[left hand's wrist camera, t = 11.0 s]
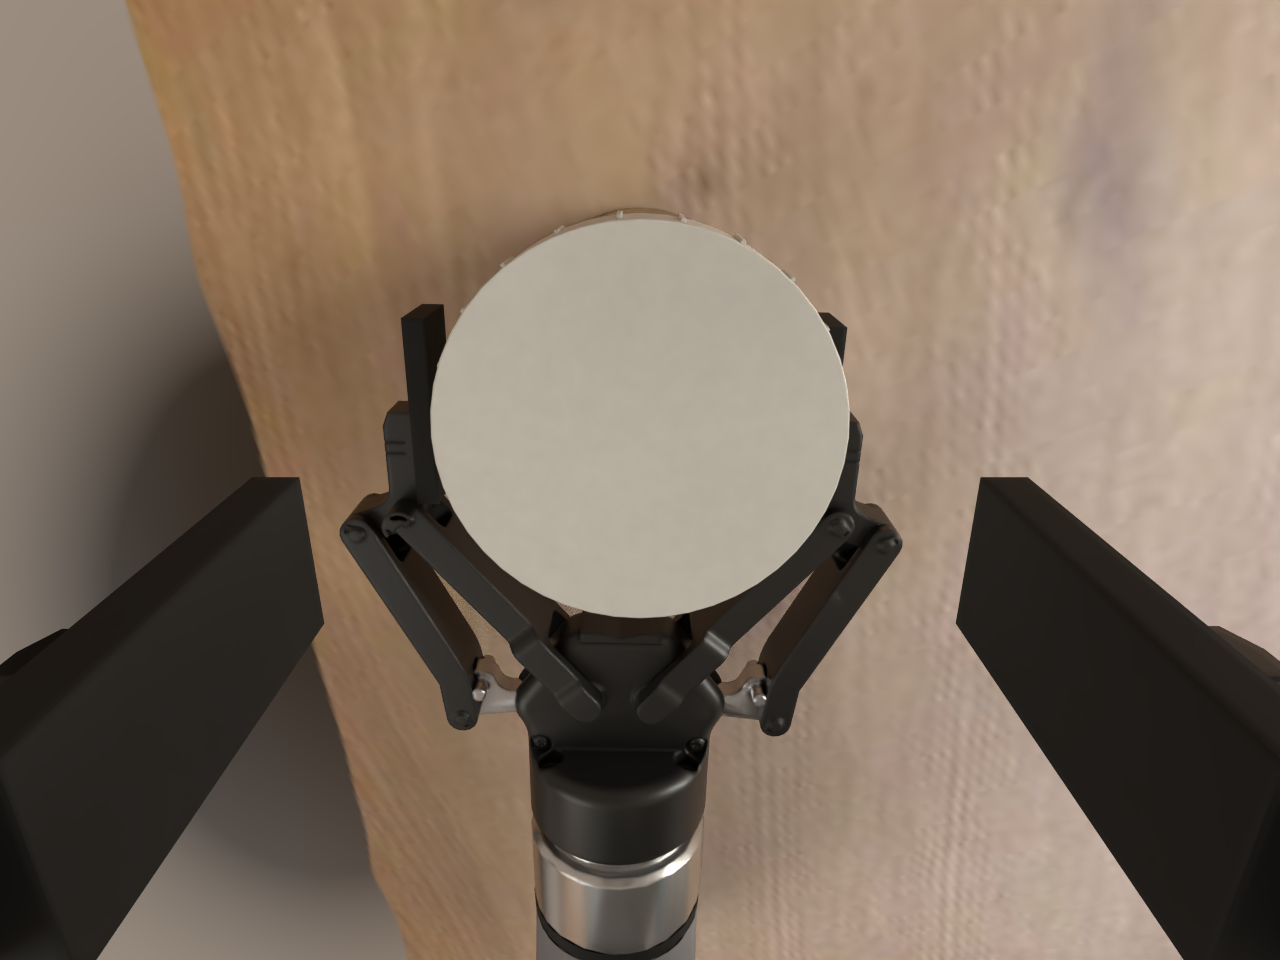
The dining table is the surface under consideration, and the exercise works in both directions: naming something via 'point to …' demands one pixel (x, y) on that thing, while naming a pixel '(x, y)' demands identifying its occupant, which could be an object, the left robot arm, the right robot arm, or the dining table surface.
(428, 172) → the dining table surface
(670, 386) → the lid
